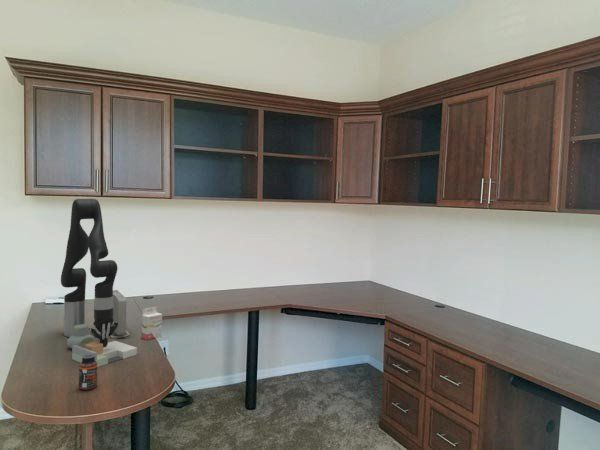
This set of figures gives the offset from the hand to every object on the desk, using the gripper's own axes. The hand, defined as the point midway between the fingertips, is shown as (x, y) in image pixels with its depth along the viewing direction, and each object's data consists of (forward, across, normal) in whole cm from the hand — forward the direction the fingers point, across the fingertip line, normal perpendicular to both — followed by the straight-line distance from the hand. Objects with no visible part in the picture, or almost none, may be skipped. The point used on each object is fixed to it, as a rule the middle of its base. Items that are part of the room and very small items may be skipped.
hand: (103, 346), depth 182 cm
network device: (+5, -25, -28) cm, 38 cm away
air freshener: (+5, -2, -20) cm, 21 cm away
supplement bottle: (+5, +21, +23) cm, 31 cm away
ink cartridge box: (+5, -30, -7) cm, 32 cm away
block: (+2, +4, 0) cm, 5 cm away
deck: (+5, -1, 0) cm, 5 cm away
